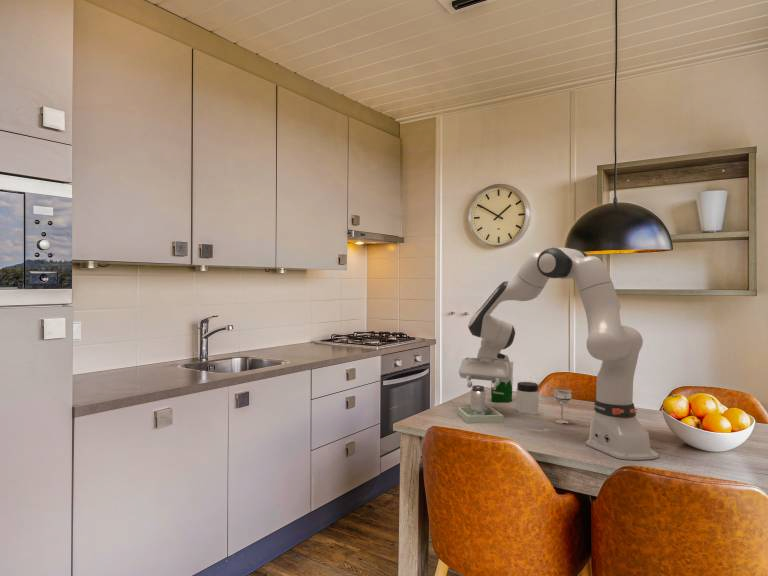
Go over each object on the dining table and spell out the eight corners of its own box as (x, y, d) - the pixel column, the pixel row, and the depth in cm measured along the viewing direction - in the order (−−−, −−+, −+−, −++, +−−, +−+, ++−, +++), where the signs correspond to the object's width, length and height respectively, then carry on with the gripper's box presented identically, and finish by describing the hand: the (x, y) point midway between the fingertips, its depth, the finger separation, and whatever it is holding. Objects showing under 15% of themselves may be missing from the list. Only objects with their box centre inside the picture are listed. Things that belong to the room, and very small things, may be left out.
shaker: (486, 421, 195) (487, 387, 195) (472, 421, 195) (473, 388, 195) (482, 417, 201) (482, 385, 201) (468, 417, 200) (469, 385, 200)
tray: (503, 424, 194) (503, 415, 194) (467, 425, 192) (467, 416, 192) (490, 414, 208) (491, 406, 208) (456, 415, 206) (456, 407, 206)
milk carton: (488, 401, 231) (489, 356, 231) (495, 398, 239) (496, 354, 238) (507, 404, 226) (508, 358, 226) (514, 400, 234) (515, 356, 234)
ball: (489, 415, 203) (490, 408, 203) (482, 416, 203) (482, 408, 203) (487, 414, 206) (487, 406, 206) (480, 414, 206) (480, 406, 206)
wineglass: (557, 418, 204) (557, 388, 204) (574, 422, 199) (574, 390, 199) (549, 421, 199) (550, 390, 199) (566, 425, 194) (567, 393, 194)
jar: (527, 416, 206) (528, 386, 206) (511, 412, 213) (512, 383, 213) (542, 413, 211) (543, 384, 211) (526, 409, 218) (527, 381, 218)
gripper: (461, 352, 213) (453, 380, 204) (511, 356, 204) (505, 385, 195) (464, 362, 217) (456, 389, 208) (514, 366, 208) (508, 395, 199)
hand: (481, 387), depth 202 cm, fingers open, 8 cm apart
